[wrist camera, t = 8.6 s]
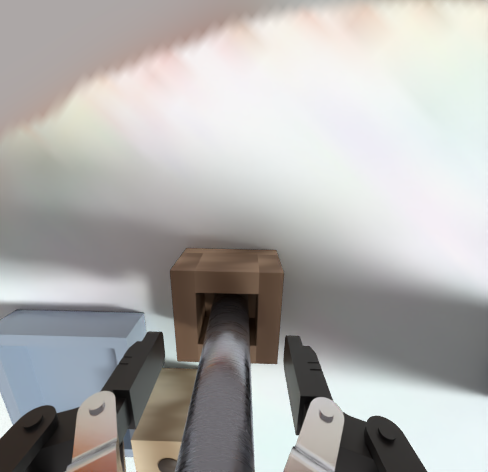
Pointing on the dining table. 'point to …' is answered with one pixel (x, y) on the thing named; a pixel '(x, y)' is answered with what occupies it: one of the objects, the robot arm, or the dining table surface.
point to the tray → (62, 357)
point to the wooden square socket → (227, 281)
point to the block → (163, 421)
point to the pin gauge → (221, 395)
